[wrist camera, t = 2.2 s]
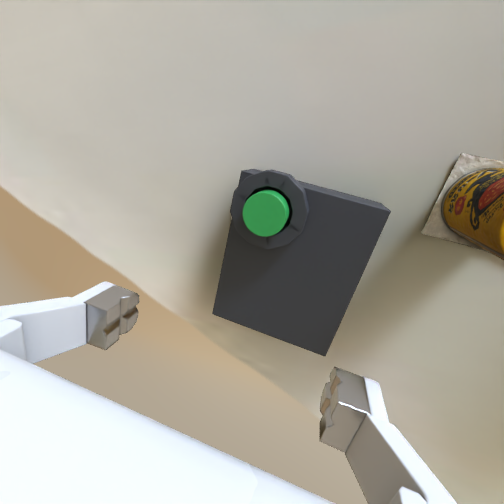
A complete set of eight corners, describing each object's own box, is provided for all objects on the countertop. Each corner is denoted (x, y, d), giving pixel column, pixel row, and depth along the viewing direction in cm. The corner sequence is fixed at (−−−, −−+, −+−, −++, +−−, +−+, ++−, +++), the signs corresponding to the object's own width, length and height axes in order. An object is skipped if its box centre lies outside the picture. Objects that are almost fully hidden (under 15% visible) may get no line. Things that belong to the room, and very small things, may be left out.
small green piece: (253, 184, 22) (247, 186, 20) (294, 196, 21) (292, 199, 20) (244, 224, 23) (238, 229, 22) (282, 236, 22) (279, 242, 21)
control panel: (255, 161, 26) (236, 162, 21) (384, 195, 24) (400, 206, 19) (225, 296, 33) (205, 323, 28) (325, 332, 31) (325, 369, 25)
